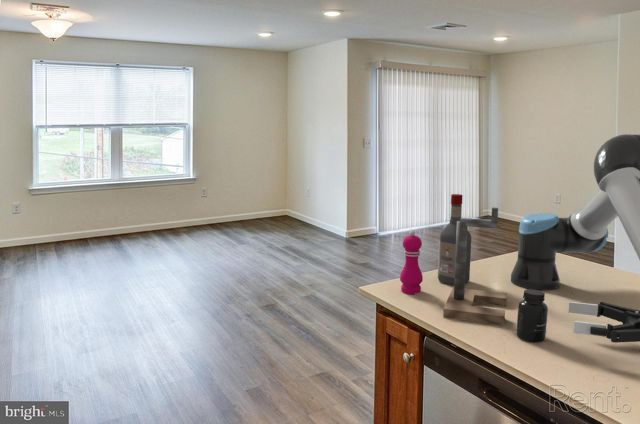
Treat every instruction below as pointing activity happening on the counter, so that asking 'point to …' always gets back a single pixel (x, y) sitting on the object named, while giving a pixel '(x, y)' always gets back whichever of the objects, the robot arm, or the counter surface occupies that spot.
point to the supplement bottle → (532, 316)
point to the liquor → (452, 245)
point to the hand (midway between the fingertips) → (570, 316)
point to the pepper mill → (411, 265)
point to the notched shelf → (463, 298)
